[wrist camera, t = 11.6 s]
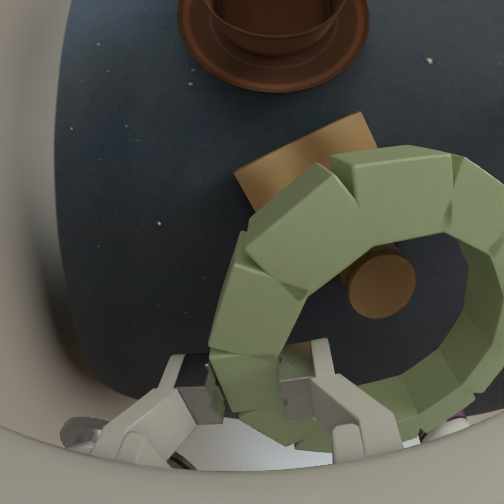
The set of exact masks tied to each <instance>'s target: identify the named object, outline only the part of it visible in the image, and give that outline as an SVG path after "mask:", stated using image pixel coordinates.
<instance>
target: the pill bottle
mask: <svg viewBox="0 0 504 504" xmlns="http://www.w3.org/2000/svg"><path fill="white" fill-rule="evenodd" d="M466 427H469V423H468V420H467V418H466V416H465V414H464V411H463V409H462V410H461V411H459V412H458V413H456V414H455V415H453V416H452V417H451V418H449V419H448V420H446V421H444V422H443V423H441V424H440V425H438V426H437V427H435V428H433V429H432V430H430V431H429V432H427V433H425V432H424V431H423V430H422V429H421V428H420V430H419V433H418V436H419V439H420V442H421V443H425V442H428V441H431V440H434V439H437V438H440V437H443V436H445V435H448V434H451V433H454V432H456V431H459V430H461V429H464V428H466Z"/></svg>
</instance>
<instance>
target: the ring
mask: <svg viewBox="0 0 504 504" xmlns="http://www.w3.org/2000/svg"><path fill="white" fill-rule="evenodd" d="M330 164H331V170H332V172H331V171H329V170H328V169H326V168H325V167H324V166H322V165H321V164H319V163H317V162H316V163H314V164H313V165H311V166H310V167H309V168H308V169H307V170H305V171H304V172H303V173H302V174H301V175H300V176H298V177H297V178H296V179H295V180H294V181H292V182H291V183H290V184H289V185H288V186H286V187H285V188H284V189H283V190H282V191H281V192H279V193H278V194H277V195H276V196H275V197H274V198H272V199H271V200H270V201H269V202H268V203H267V204H265V205H264V206H263V207H262V208H261V209H260V210H258V211H257V212H256V213H255V214H254V215H253V216H251V217H250V219H249V223H248V229H247V232H245V231H241V232H240V234H239V237H238V240H237V243H236V247H235V250H234V253H233V256H232V259H231V262H230V265H229V269H228V272H227V275H226V278H225V281H224V284H223V288H222V291H221V294H220V297H219V301H218V305H217V309H216V313H215V317H214V321H213V325H212V329H211V333H210V337H209V341H208V346H209V347H211V350H210V354H209V359H210V362H211V364H212V367H213V369H214V372H215V374H216V376H217V379H218V381H219V383H220V386H221V388H222V390H223V393H224V395H225V397H226V399H227V402H228V404H229V406H230V408H231V411H232V412H239V419H240V420H241V421H243V422H244V423H246V424H247V425H249V426H251V427H252V428H254V429H256V430H257V431H259V432H261V433H262V434H264V435H266V436H268V437H269V438H271V439H273V440H275V441H277V442H278V443H280V444H282V445H284V446H289V445H291V444H294V447H295V449H296V450H305V451H315V452H327V453H332V437H331V436H330V434H329V433H328V432H327V431H326V430H325V429H324V428H323V427H322V426H321V425H320V423H319V422H318V421H317V420H316V419H315V417H310V418H300V419H289V420H287V417H286V413H285V409H284V398H282V397H281V392H280V388H279V383H278V364H279V363H280V358H279V354H280V353H281V351H282V349H283V347H284V345H285V343H286V341H287V339H288V337H289V335H290V333H291V330H292V328H293V326H294V324H295V322H296V320H297V318H298V316H299V314H300V312H301V310H302V308H303V305H304V303H305V301H306V299H307V297H308V296H310V295H311V294H312V293H314V292H315V291H316V290H318V289H319V288H320V287H322V286H323V285H324V284H326V283H327V282H328V281H330V280H331V279H332V278H334V277H335V276H336V275H338V274H339V273H340V272H341V271H343V270H344V269H345V268H347V267H348V266H349V265H350V264H352V263H353V262H354V261H356V260H357V259H358V258H359V257H361V256H362V255H363V254H364V253H366V252H367V251H368V250H369V249H371V248H372V247H373V246H378V245H383V244H388V243H393V242H398V241H403V240H408V239H413V238H418V237H422V236H427V235H432V234H437V233H442V232H444V233H446V234H448V235H450V236H452V237H454V238H456V240H457V242H458V244H459V246H460V249H461V251H462V253H463V255H464V257H465V260H466V262H467V264H468V266H469V269H468V278H467V286H466V294H465V300H464V307H463V311H462V313H461V314H460V316H459V318H458V319H457V321H456V322H455V324H454V326H453V327H452V329H451V330H450V332H449V333H448V335H447V336H446V338H445V339H444V341H443V342H442V344H441V345H440V347H439V348H438V349H437V350H435V351H434V352H433V353H431V354H430V355H429V356H427V357H426V358H425V359H423V360H422V361H420V362H419V363H418V364H416V365H415V366H413V367H412V368H410V369H409V370H407V371H406V372H404V373H403V374H401V375H398V376H395V377H391V378H387V379H383V380H379V381H376V382H371V383H367V384H363V385H359V386H357V387H358V388H360V389H361V390H362V391H364V392H365V393H366V394H368V395H369V396H370V397H372V398H373V399H375V400H376V401H377V402H379V403H380V404H381V405H383V406H384V407H386V408H387V409H388V410H390V411H391V412H393V413H394V417H395V420H396V423H397V426H398V430H399V433H400V437H401V440H402V442H404V441H407V440H410V439H413V438H416V437H417V436H418V433H419V430H420V428H421V429H422V430H423V431H424V432H425V433H427V432H429V431H430V430H432V429H433V428H435V427H437V426H438V425H440V424H441V423H443V422H444V421H446V420H448V419H449V418H451V417H452V416H453V415H455V414H456V413H458V412H459V411H461V410H462V409H464V408H465V407H466V406H468V405H469V404H470V403H472V402H473V401H475V396H474V394H473V393H483V392H484V391H485V390H486V388H487V387H488V386H489V385H490V383H491V382H492V381H493V380H494V378H495V377H496V376H497V375H498V373H499V372H500V371H501V369H502V368H503V367H504V185H503V184H502V183H501V182H499V181H498V180H497V179H495V178H494V177H493V176H491V175H490V174H488V173H487V172H486V171H484V170H483V169H481V168H480V167H479V166H477V165H476V164H474V163H473V162H471V161H470V160H468V159H467V158H465V157H463V156H459V155H454V154H450V153H446V152H442V151H437V150H433V149H428V148H423V147H417V146H412V145H402V146H393V147H385V148H377V149H369V150H362V151H355V152H348V153H341V154H334V155H331V156H330Z"/></svg>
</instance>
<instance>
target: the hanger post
mask: <svg viewBox="0 0 504 504" xmlns="http://www.w3.org/2000/svg"><path fill="white" fill-rule="evenodd" d="M369 149H377V146H376V143H375V141H374V139H373V137H372V135H371V132H370V130H369V128H368V126H367V124H366V122H365V119H364V117H363V115H362V113H361V112H354V113H352V114H349V115H347V116H345V117H342V118H340V119H338V120H336V121H334V122H331V123H329V124H327V125H325V126H323V127H320V128H318V129H316V130H314V131H312V132H310V133H308V134H306V135H304V136H301V137H299V138H297V139H295V140H293V141H291V142H289V143H287V144H285V145H283V146H281V147H279V148H277V149H275V150H273V151H271V152H269V153H267V154H265V155H263V156H261V157H259V158H258V159H256V160H254V161H252V162H250V163H248V164H246V165H244V166H242V167H240V168H239V169H237V170H236V171H235V172H234V175H235V177H236V179H237V180H238V182H239V184H240V186H241V187H242V189H243V191H244V193H245V194H246V196H247V198H248V200H249V202H250V203H251V205H252V207H253V209H254V211H255V212H257V211H258V210H260V209H261V208H262V207H263V206H264V205H265V204H267V203H268V202H269V201H270V200H271V199H272V198H274V197H275V196H276V195H277V194H278V193H279V192H281V191H282V190H283V189H284V188H285V187H286V186H288V185H289V184H290V183H291V182H292V181H294V180H295V179H296V178H297V177H298V176H300V175H301V174H302V173H303V172H304V171H305V170H307V169H308V168H309V167H310V166H311V165H313V164H314V163H316V162H317V163H319V164H321V165H322V166H324V167H325V168H326V169H328V170H329V171H331V172H332V170H331V164H330V156H331V155H334V154H341V153H348V152H355V151H362V150H369ZM339 276H340V278H341V281H342V283H343V286H344V288H345V291H346V293H347V296H348V299H349V301H350V304H351V306H352V307H353V308H354V310H355V311H356V312H357V313H359V314H360V315H362V316H364V317H367V318H373V319H378V318H385V317H388V316H391V315H393V314H395V313H397V312H398V311H399V310H401V309H402V308H403V307H404V306H405V305H406V304H407V303H408V301H409V300H410V298H411V297H412V295H413V293H414V290H415V286H416V275H415V271H414V268H413V266H412V264H411V263H410V262H409V261H408V260H407V258H406V257H405V256H404V255H403V254H402V253H401V252H400V251H399V249H398V248H397V247H396V246H395V245H394V244H393V243H388V244H383V245H378V246H373V247H372V248H371V249H369V250H368V251H367V252H366V253H364V254H363V255H362V256H361V257H359V258H358V259H357V260H356V261H354V262H353V263H352V264H350V265H349V266H348V267H347V268H345V269H344V270H343V271H341V272H340V273H339Z"/></svg>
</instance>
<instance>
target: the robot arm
mask: <svg viewBox="0 0 504 504" xmlns="http://www.w3.org/2000/svg"><path fill="white" fill-rule="evenodd" d="M209 354H210V353H195V354H176V355H172V356H171V357H170V359H169V361H168V364H167V366H166V369H165V371H164V374H163V376H162V379H161V381H160V383H159V386H158V388H157V389H152V390H151V391H150V392H149V393H147V394H146V395H145V396H143V397H142V398H141V399H139V400H138V401H137V402H136V403H134V404H133V405H132V406H130V407H129V408H128V409H126V410H125V411H124V412H122V413H121V414H120V415H118V416H117V417H116V418H114V419H113V420H112V421H110V422H109V423H107V424H106V425H105V426H103V428H102V430H101V432H100V434H99V436H98V439H97V441H96V443H94V442H92V441H87V442H84V443H81V444H77V445H74V446H71V447H68V448H62V447H59V446H56V445H52V444H49V443H46V442H43V441H40V440H37V439H34V438H31V437H29V436H26V435H23V434H20V433H18V432H15V431H13V430H10V429H8V428H5V427H3V426H1V425H0V504H504V411H503V412H500V413H499V414H496V415H494V416H492V417H490V418H488V419H485V420H483V421H481V422H479V423H476V424H474V425H471V426H469V427H466V428H464V429H461V430H459V431H456V432H454V433H451V434H448V435H445V436H443V437H440V438H437V439H434V440H431V441H428V442H425V443H421V444H419V445H415V446H412V447H408V448H404V447H403V444H402V440H401V437H400V433H399V430H398V426H397V423H396V420H395V417H394V413H393V412H391V411H390V410H388V409H387V408H386V407H384V406H383V405H381V404H380V403H379V402H377V401H376V400H375V399H373V398H372V397H370V396H369V395H368V394H366V393H365V392H364V391H362V390H361V389H360V388H358V387H357V386H356V385H354V384H353V383H352V382H350V381H349V380H348V379H346V378H345V377H344V376H342V375H341V374H335V373H334V368H333V363H332V358H331V353H330V348H329V343H328V339H327V338H322V339H316V340H311V343H310V341H307V342H301V343H294V344H287V345H284V347H283V349H282V351H281V353H280V354H279V358H280V363H279V364H278V383H279V388H280V392H281V397H282V398H284V409H285V413H286V417H287V420H289V419H300V418H310V417H315V419H316V420H317V421H318V422H319V423H320V425H321V426H322V427H323V428H324V429H325V430H326V431H327V432H328V433H329V434H330V436H331V437H332V455H333V464H329V465H322V466H315V467H306V468H296V469H284V470H271V471H270V470H269V471H244V472H243V471H199V470H184V469H173V468H171V467H170V466H169V464H168V463H167V462H166V461H167V460H168V459H169V458H170V456H171V455H172V454H173V453H174V452H175V451H176V450H177V449H178V448H179V446H180V445H181V444H182V443H183V442H184V441H185V440H186V439H187V438H188V436H189V435H190V434H191V433H192V432H193V431H194V430H195V429H196V427H197V425H201V424H202V425H203V424H222V423H223V418H224V413H225V406H224V404H223V401H224V400H225V399H226V397H225V395H224V393H223V390H222V388H221V386H220V383H219V381H218V379H217V376H216V374H215V372H214V369H213V367H212V364H211V362H210V359H209Z"/></svg>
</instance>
